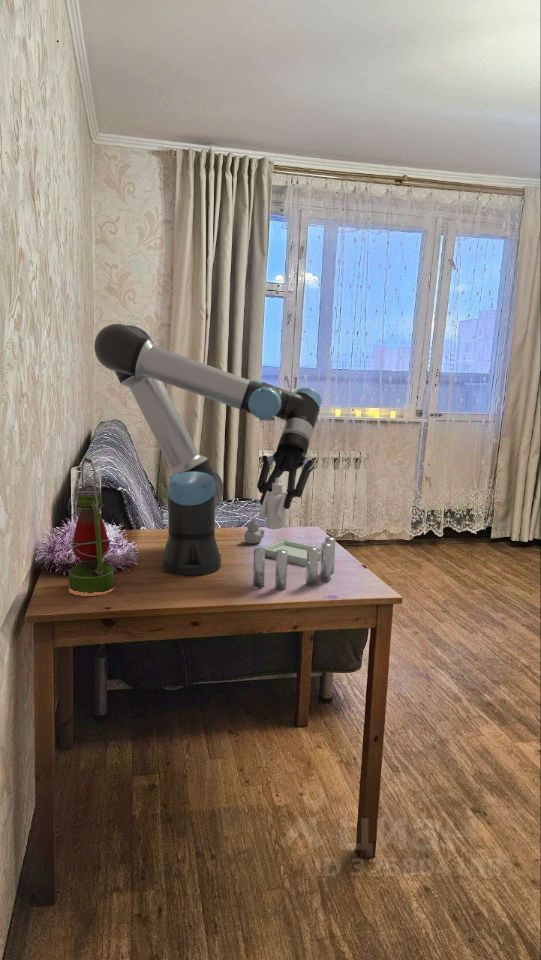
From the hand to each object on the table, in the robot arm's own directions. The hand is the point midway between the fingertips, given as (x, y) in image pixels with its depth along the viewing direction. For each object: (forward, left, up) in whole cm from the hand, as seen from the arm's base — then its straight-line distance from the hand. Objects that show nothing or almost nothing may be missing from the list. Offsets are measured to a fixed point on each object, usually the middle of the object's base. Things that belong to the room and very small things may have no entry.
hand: (270, 517), depth 149 cm
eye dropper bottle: (-1, +4, -3) cm, 5 cm away
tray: (-6, +21, -16) cm, 27 cm away
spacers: (+5, +5, -16) cm, 17 cm away
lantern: (-29, -29, -16) cm, 44 cm away
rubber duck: (-22, +24, -16) cm, 36 cm away
